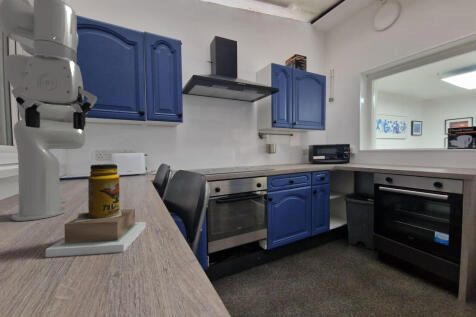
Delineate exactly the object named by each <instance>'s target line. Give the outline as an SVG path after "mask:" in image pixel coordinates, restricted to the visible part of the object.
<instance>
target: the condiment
mask: <svg viewBox="0 0 476 317" xmlns="http://www.w3.org/2000/svg"><path fill="white" fill-rule="evenodd" d="M118 173H119V172H118V165H117V164H116V163H110V164H109V163H108V164H107V163H103V164H101V163H99V164H91V165H90V172H89V174H90V175H89V177H88V179H87V182H88V183H87V186H88V195H87V196H88V200H87V202H88V203H87V204H88V206H87V207H88V212H79V213H78V215H77V217H76V218H75V219H76V221H75V222H74V223H76V222H83V221H90V220H98V219H106V218H113V217H119V216H122V214H121V210H122V209H121V208H120V176H119V174H118Z"/></svg>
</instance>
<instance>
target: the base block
mask: <svg viewBox="0 0 476 317" xmlns="http://www.w3.org/2000/svg"><path fill="white" fill-rule="evenodd" d="M121 214H122V216H119V217H113V218H106V219H98V220H90V221H83V222H76V223H74V222H75V221H76V219H77V218H75V219H73V220H70V221H68V222H66V223H64V239H65V244H67V243H84V242H101V241H118V240H119V239H120V238H121V237H122V236H123V235H124V234H125V233H126V232H127V231H128V230H129V229H131V228H132V227H133V226H134V225H135V222H136V209H134V208H132V209H131V208H130V209H121Z"/></svg>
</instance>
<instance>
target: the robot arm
mask: <svg viewBox="0 0 476 317" xmlns="http://www.w3.org/2000/svg"><path fill="white" fill-rule="evenodd" d="M77 17H78V16H77V13H76V12H75V10H74V9H73V8H72V6H70V5H69V4H68V3H66V2H65V1H63V0H33V6H32V5H29V4H26V3H24V2H22V1H19V0H1V2H0V30H1V31H2V33H3V34H4V35H5V37H7V38H8V39H11V40H13V41H15V42H16V43H18V44H19V45H20V47H21V48H22V49H23V50H24V52H26V53H27V54H29V55H30V56H29V55H26V54H17V53H16V54H15V53H14V54H9V55H7V56H6V57H5V59H4V71H5V76H6V78H7V80H8V82H9V84H10V86H11V87H12V89H11V90H10V91H11V93H12V95H13V98H14V99H15V102H16V103H17V107H18V114H19V117H20V119H21V120H18V121H16V123H15V124H14V126H13V135H14V140H15V144H16V149H17V150H16V151H17V160H18V161H17V162H18V164H17V165H18V212H16V213H14V214H12V215H11V220H12V221H15V222H23V221H24V222H26V221H34V220H43V219H47V218H50V217H51V218H52V217H57V216H59V215H62V214H64V213H66V211H67V210H66V209H67V208H66V207H63V206H62V205H63V204H66V203H67V202H68V198H67V197H62V198H61V193H60V192H61V188H60V187H61V186H60V185H61V184H60V183H61V182H60V177H61V176H60V161H59V159H58V157H57V156H55V155H54V154H53V153H52V152H51V151H50V150H76V149H78V150H79V149H81V148H83V146H84V145H85V143H86V132H85V127H86V115H88V113H89V112H90V111H91V110H92V109H94V105H95V104H96V103H97V101H98V97H97V96H96V95H94V94H92V93H91V92H88V91H86V90H84V83H83V76H82V72H81V68H80V66H79V64H77V62H78V60H77V50H78V49H77V48H78V45H79V33H78V28H77V27H78V25H77V24H78V20H77V19H78V18H77ZM84 97H86V98H87V100H86V101H85V102H84Z"/></svg>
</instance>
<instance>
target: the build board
mask: <svg viewBox="0 0 476 317" xmlns="http://www.w3.org/2000/svg"><path fill="white" fill-rule="evenodd" d="M146 225H147V224H146V221H138V222H137V221H135V225H134V226H133V227H132V228H131V229H129V230H128V231H127V232H126V233H125V234H124V235H123V236H122V237H121V238H120V239H119V240H118V241H101V242H84V243H67V244H65V238H62V239H61V240H60V241H58V242H56V243H54V244H53V245H51V246H49V247H48V248H46V249H45V258H53V257H67V256H68V257H70V256H81V255H82V256H83V255H95V254H96V255H98V254H111V253H124V252H125V251H126V250H127V249H128V248H129V247H130V246H131V244H132V243H133V242H134V241H135V240H136V239H137V237H138V236H139V235H141V234H142V232H143V231H144V230H145V229H146V228H147V226H146Z"/></svg>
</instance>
